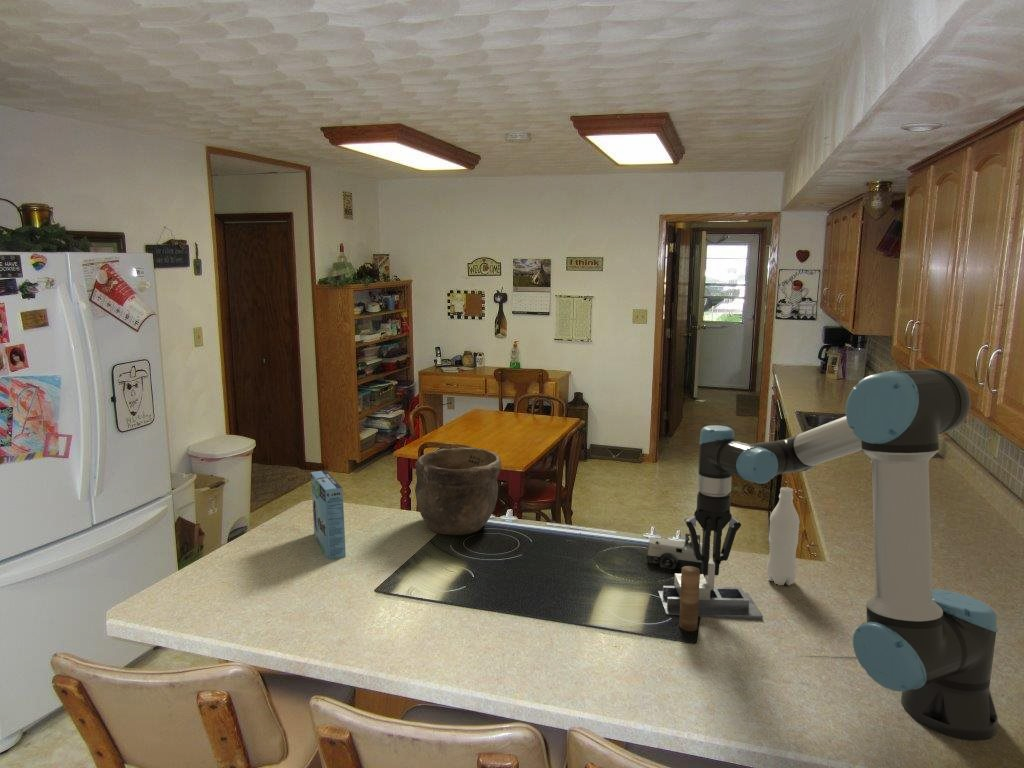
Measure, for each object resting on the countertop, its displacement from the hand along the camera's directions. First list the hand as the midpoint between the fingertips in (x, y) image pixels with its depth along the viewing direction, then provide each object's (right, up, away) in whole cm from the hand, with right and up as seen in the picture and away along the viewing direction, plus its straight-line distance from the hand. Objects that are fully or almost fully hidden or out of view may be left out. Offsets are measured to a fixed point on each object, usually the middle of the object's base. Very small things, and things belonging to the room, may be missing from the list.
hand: (709, 587), depth 168 cm
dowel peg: (-7, -6, -10) cm, 14 cm away
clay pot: (-63, +2, +46) cm, 78 cm away
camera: (-3, -2, +23) cm, 23 cm away
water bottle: (+23, -3, +15) cm, 27 cm away
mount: (0, -5, +1) cm, 5 cm away
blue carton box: (-98, 0, +29) cm, 102 cm away
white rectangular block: (-4, -1, 0) cm, 4 cm away
